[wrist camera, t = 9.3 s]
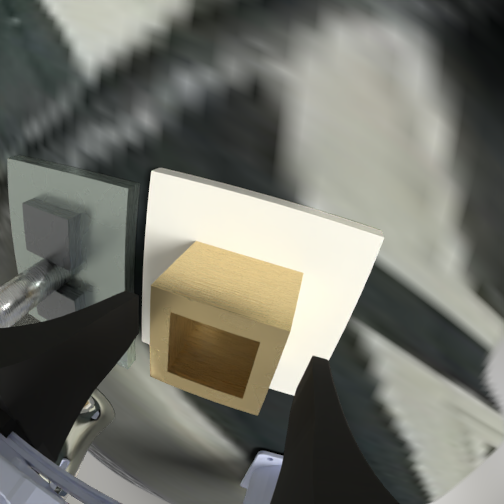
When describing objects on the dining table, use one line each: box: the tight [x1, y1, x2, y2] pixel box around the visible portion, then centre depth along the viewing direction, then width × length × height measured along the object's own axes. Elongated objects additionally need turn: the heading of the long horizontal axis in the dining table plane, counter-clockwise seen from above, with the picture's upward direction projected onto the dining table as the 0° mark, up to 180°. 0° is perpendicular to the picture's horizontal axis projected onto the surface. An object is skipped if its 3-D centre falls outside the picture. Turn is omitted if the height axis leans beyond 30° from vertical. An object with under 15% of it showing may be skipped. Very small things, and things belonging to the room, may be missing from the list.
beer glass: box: [31, 389, 115, 500], centre depth 18 cm, size 7×7×15 cm
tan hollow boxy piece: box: [150, 241, 303, 416], centre depth 13 cm, size 5×5×4 cm
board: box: [142, 168, 384, 396], centre depth 15 cm, size 10×10×1 cm
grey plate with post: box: [0, 155, 140, 369], centre depth 15 cm, size 10×12×7 cm
